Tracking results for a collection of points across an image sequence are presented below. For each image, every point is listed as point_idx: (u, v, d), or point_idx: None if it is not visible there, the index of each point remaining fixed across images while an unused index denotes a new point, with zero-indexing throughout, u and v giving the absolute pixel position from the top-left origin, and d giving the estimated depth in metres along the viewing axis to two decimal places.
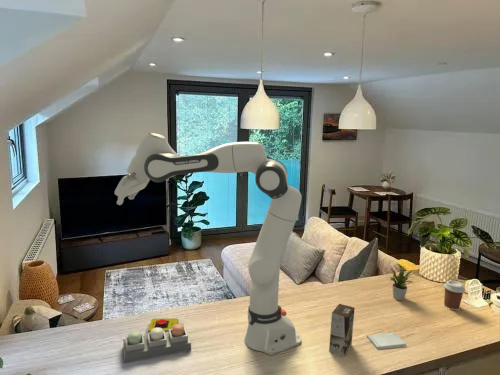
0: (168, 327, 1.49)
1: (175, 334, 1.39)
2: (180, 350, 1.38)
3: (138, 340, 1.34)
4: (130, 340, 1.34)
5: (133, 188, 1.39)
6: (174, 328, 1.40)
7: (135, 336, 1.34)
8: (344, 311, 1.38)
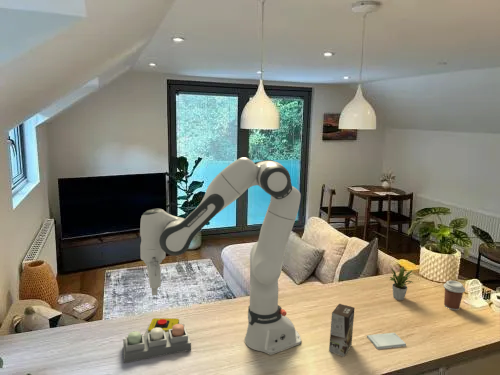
0: (168, 327, 1.49)
1: (175, 334, 1.39)
2: (180, 350, 1.38)
3: (138, 340, 1.34)
4: (130, 340, 1.34)
5: None
6: (174, 328, 1.40)
7: (135, 336, 1.34)
8: (344, 311, 1.38)
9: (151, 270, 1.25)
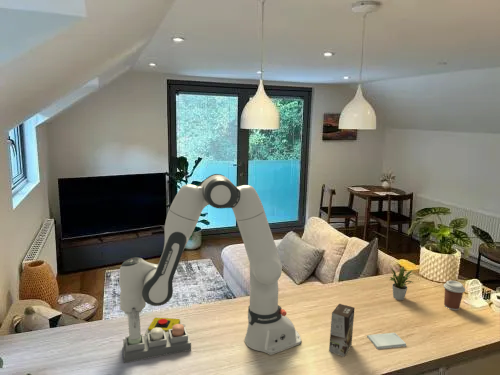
0: (168, 327, 1.49)
1: (175, 334, 1.39)
2: (180, 350, 1.38)
3: (138, 342, 1.35)
4: (130, 342, 1.34)
5: None
6: (174, 328, 1.40)
7: None
8: (344, 311, 1.38)
9: (130, 322, 1.25)
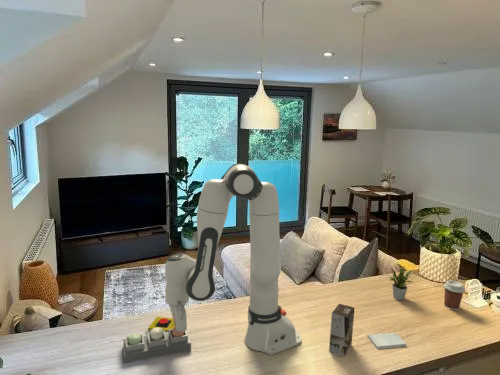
0: (168, 327, 1.49)
1: (175, 336, 1.39)
2: (180, 350, 1.38)
3: (138, 342, 1.35)
4: (130, 343, 1.34)
5: None
6: (174, 330, 1.40)
7: (135, 339, 1.34)
8: (344, 311, 1.38)
9: (177, 315, 1.30)
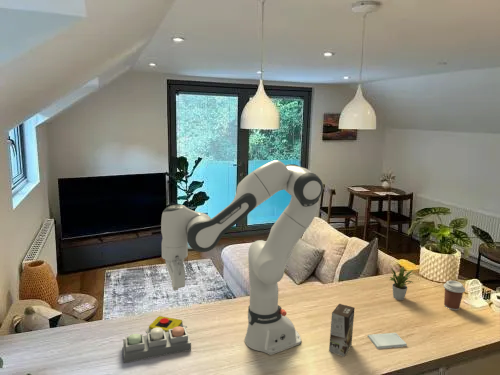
0: (167, 327, 1.49)
1: None
2: (180, 350, 1.38)
3: (138, 342, 1.35)
4: (130, 343, 1.34)
5: None
6: (174, 331, 1.40)
7: (135, 339, 1.34)
8: (344, 311, 1.38)
9: (175, 269, 1.18)
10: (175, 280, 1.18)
